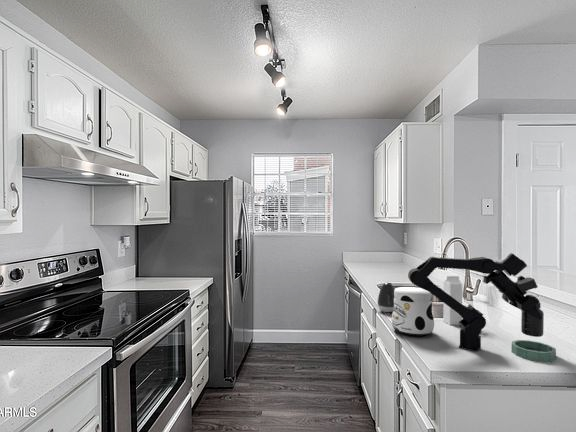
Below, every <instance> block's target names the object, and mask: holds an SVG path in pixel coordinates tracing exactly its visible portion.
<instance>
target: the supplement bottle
mask: <svg viewBox="0 0 576 432" xmlns="http://www.w3.org/2000/svg"><path fill="white" fill-rule="evenodd" d="M536 307H537V309H538V311H539V312H540V314H541V316H542V319H541V320H540V319H538V318H535V317H533V316H531V315H529V314H527V313H525V312H523V311H521V319H520V321H521V329H520V330H521V333H522V334H524V335H525V336H529V337H536V338H537V337H538V338H539V337H543V336H544V326H545V325H544V311H543V310H542V309H541V302H540V301H539V303H538V304H536Z"/></svg>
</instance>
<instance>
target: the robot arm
mask: <svg viewBox="0 0 576 432" xmlns="http://www.w3.org/2000/svg"><path fill="white" fill-rule="evenodd" d="M527 267H528V265H527V263H526V262H525V261H524V260H523V259H521V258H519V257H518V256H516V255H515V254H514V253H509V254H508V255H507V256H506V258H504V259H503V260H502V261H501V262H500V261H494V260H493V259H491V258H488V257H485V256H480V257H472V258H453V257H435V256H429V258H427V259H426V260H425V261H423V262H422V263H421V264H419V265H418V266H416V267H415V268H412V269H410V270H408V274H407V276H408V277H407V278H408V280H409V281H410V282H411V284H413V285H414V286H415V287H417V288H422V289H424V290H427V291H429V292H430V293H431V294H432V296H434V297H435V298H436V299H438V300H440V301H441V302H442V303H443V302H444V303H445V304H446V305H448V306H449V307H450V308H452V309H453V310H454V311H456V312H457V313H458V314H459V315H460V316H461V317H462V320H461V321H460V322H459V328H460V330H459V345H458V348H459V349H464V350H469V351H474V352H478V351H480V349H481V347H482V336H481V333H482V331H483V329H484V328H485V327H486V326H487V319H486V318H485V317H484V313H482V312H481V311H480V310H479V309H476V308H475V307H474V306H473V305H471V304H470V303H469V304H468V306H466V305H464V304H463V303H462V304H461V303H459V302H458V301H457V300H455V299H454V298H453V297H451V296H450V295H449V294H447V293H446V292H444V289H443V288H441V287H439V286H438V285H437V284H435V283H433V281H432V280H431V279H430V278H429V276H430V275H431V274H432V273H433V272H434V271H435V270H436V269H437V268H439V269H453V270H455V269H456V270H457V269H458V270H469V271H471V272H472V271H473V272H478V273H482V274H486V275H483V276H482V278H483V279H482V280H483V281H482V282H483V283H484V284H486V285H488V284H490V283H491V284H492V285H493V286H494V287H495V288H496V289H497V291H498V292H499V293H501V298H502V300H503V301H504V302H506V303H507V304H509V305H510V306H513V307H514V308H517V309H519V310H520V311H521V312H522V311H523V312H525V313H527V314H529V315H531V316H533V317H535V318H538V319H540V320H541V319H542V316H541V314H540V312H539V311H538V309H537V307H536V304H538V303H539V302H540V300H539V299H538V298H537V297H536V296H534V295H532V294H528V292H527V291H530V290H534V289H537V288H538V287H539V286H538V284H537V283H536V280H535V279H534V278H533V277H529V276H528V277H524V276H523V275H520V276H518V277H517V280H516V281H513V280H512V279H511V278H510V277H511V276H513V277H516V276H517V275H519V274H520V273H521V272H522V271H523V270H524V269H525V268H527Z"/></svg>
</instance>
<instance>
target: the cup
mask: <svg viewBox="0 0 576 432" xmlns="http://www.w3.org/2000/svg"><path fill="white" fill-rule="evenodd" d="M511 353H513V354H514V355H515V356H518V357H520V358H523V359H526V360H531V361H536V362H546V363H548V362H549V363H551V362H556V361H557V348H555V347H553V346H552V345H551V344H547V343H544V342H539V341H533V340H528V339H527V340H526V339H525V340H524V339H517V340H512V341H511Z"/></svg>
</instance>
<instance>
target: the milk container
mask: <svg viewBox="0 0 576 432" xmlns="http://www.w3.org/2000/svg"><path fill="white" fill-rule="evenodd" d="M394 289H395V290H394V311H393V312H392V314H391V324H392V328H393V329H394V330H395V331H397V332H398V333H401V334H404V335H408V336H421V337H422V336H427V335H430V334H431V333H433V331H434V329H435V320H434V315H433V294H431V293H430V292H429V291H427V290H424V289H422V288H420V287H416V286H415V287H413V286H412V287H411V286H401V287H399V286H398V287H396V288H395V287H394Z"/></svg>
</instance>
